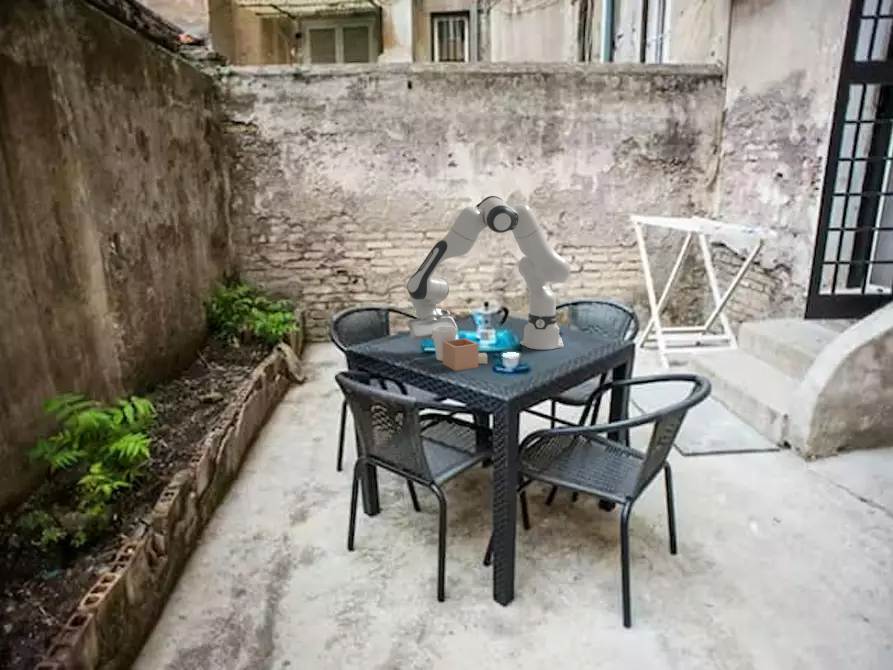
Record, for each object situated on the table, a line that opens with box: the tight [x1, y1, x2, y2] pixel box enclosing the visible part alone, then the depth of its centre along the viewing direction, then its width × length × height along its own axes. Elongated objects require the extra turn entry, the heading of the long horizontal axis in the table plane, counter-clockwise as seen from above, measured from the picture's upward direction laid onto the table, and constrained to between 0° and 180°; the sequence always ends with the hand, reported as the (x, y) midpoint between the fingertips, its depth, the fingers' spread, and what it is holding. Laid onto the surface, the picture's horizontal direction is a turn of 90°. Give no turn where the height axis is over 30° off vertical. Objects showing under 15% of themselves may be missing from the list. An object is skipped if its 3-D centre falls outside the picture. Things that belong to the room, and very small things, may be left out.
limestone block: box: [478, 352, 488, 365], centre depth 232 cm, size 5×5×4 cm
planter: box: [442, 337, 479, 372], centre depth 227 cm, size 10×10×10 cm
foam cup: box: [432, 326, 458, 362], centre depth 236 cm, size 10×9×13 cm
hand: (439, 345), depth 241 cm, fingers closed
